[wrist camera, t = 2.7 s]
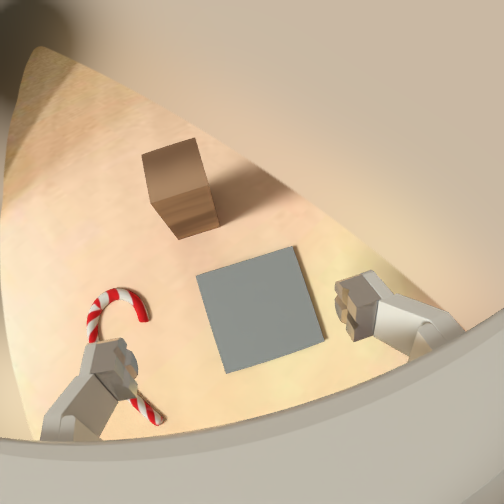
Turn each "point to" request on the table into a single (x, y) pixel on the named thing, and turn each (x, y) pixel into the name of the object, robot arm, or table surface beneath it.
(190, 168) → the walnut block
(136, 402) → the candy cane
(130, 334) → the table surface
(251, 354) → the slate mat
